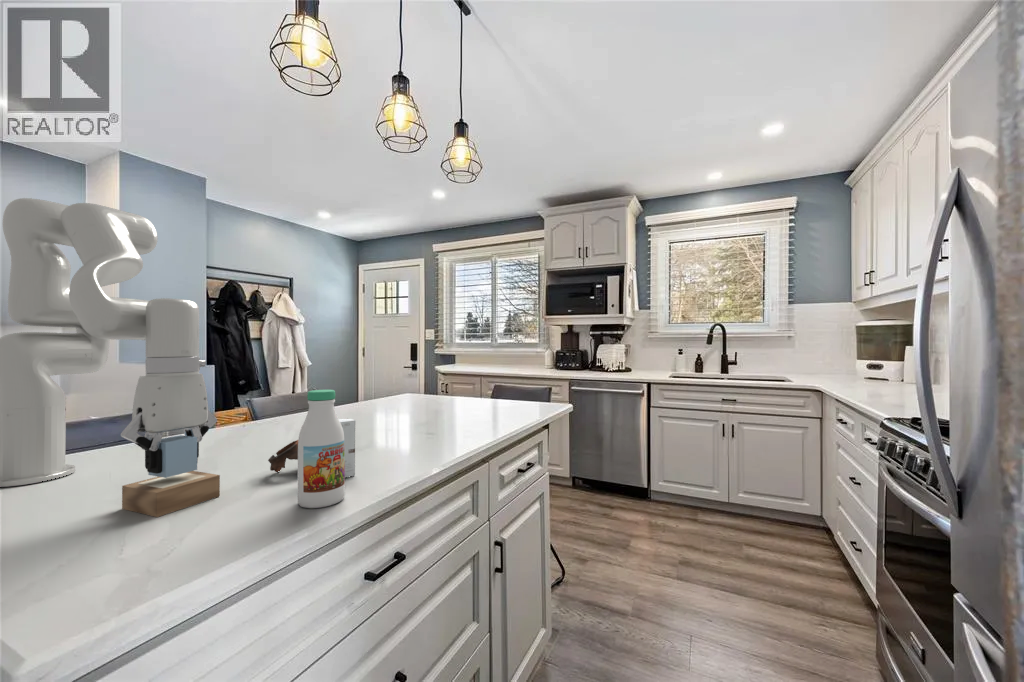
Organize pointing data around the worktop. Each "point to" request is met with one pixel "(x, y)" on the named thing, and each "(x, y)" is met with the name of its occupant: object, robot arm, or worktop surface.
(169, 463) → the slate block
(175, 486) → the walnut plinth
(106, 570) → the worktop surface
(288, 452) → the brown segmented ring
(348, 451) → the skincare box
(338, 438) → the milk bottle
